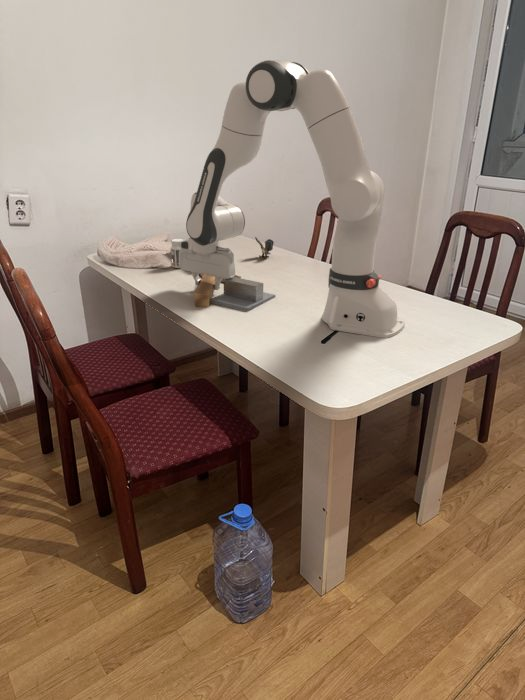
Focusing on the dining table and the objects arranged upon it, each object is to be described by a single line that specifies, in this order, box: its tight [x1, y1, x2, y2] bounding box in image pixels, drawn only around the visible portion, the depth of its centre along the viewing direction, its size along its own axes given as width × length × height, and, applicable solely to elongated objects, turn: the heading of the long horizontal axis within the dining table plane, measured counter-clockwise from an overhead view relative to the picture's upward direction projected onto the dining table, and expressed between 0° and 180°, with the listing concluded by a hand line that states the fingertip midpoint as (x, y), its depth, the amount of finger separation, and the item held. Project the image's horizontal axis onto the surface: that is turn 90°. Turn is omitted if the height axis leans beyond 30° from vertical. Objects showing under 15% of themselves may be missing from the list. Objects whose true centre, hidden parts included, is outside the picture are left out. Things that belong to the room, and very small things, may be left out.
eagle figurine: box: [254, 237, 275, 260], centre depth 201 cm, size 8×7×9 cm
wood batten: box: [194, 274, 217, 308], centre depth 161 cm, size 4×24×4 cm, turn 178°
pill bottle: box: [170, 238, 184, 269], centre depth 189 cm, size 6×6×10 cm
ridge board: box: [210, 277, 276, 312], centre depth 156 cm, size 14×15×6 cm
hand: (207, 287), depth 163 cm, fingers closed on wood batten, 6 cm apart
